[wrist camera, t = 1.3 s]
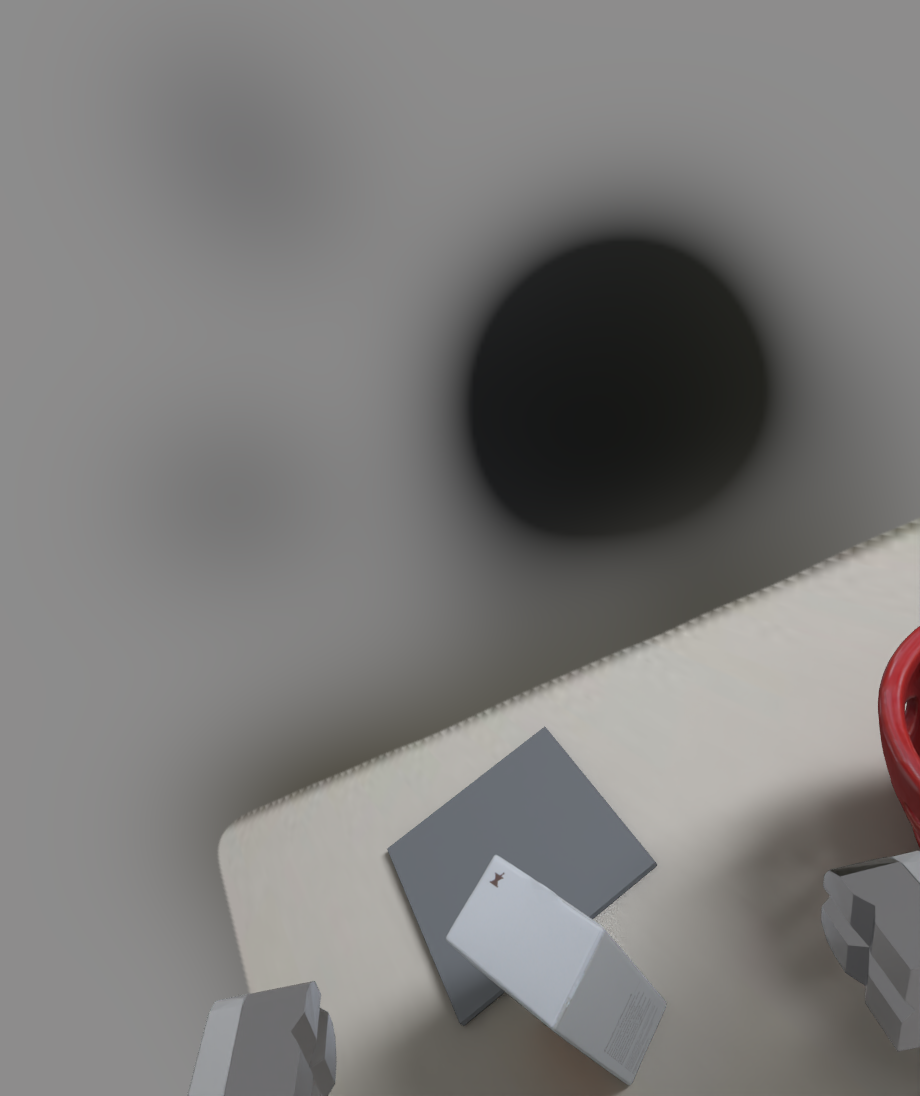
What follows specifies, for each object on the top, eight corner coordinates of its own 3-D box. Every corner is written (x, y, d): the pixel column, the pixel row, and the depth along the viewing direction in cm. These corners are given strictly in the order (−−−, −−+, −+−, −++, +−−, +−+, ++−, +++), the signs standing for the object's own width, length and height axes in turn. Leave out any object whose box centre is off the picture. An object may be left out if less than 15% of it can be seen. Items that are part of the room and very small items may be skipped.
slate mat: (547, 730, 47) (544, 726, 47) (657, 865, 37) (655, 862, 37) (390, 851, 45) (387, 848, 45) (463, 1025, 36) (460, 1023, 35)
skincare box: (533, 1009, 35) (438, 936, 28) (573, 934, 37) (493, 848, 29) (633, 1094, 31) (552, 1034, 24) (672, 1004, 32) (607, 923, 25)
